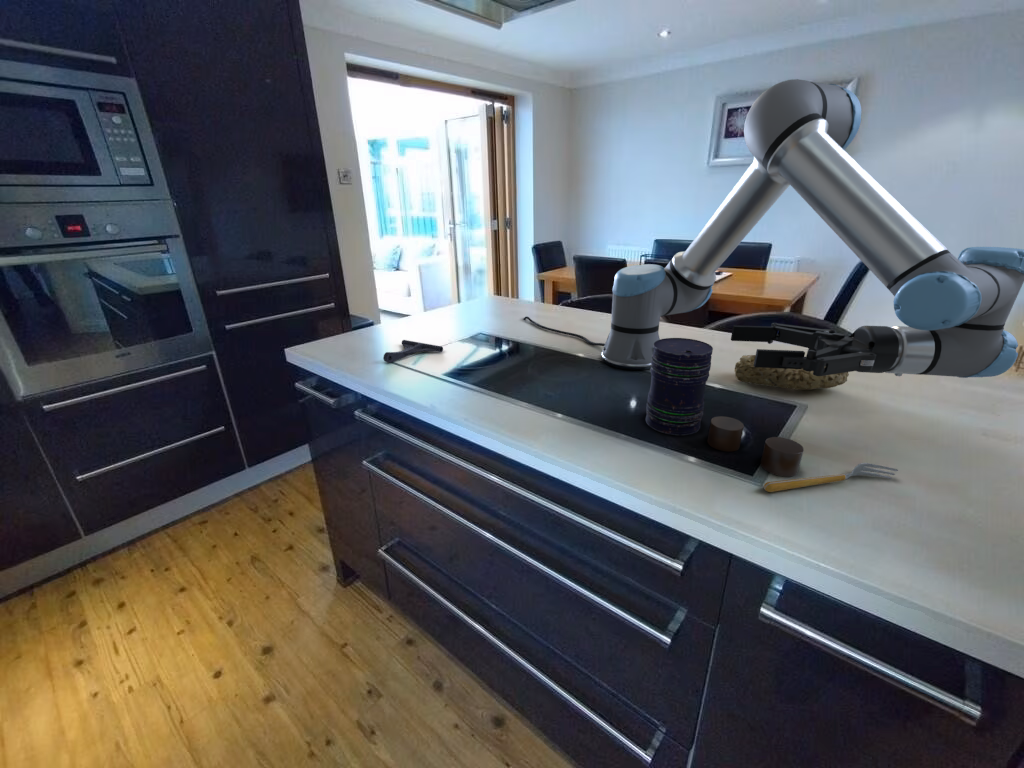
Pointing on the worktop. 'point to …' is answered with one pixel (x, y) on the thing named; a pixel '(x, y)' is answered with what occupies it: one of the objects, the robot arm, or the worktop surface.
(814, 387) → the sponge
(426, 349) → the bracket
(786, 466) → the walnut disc
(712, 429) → the walnut disc
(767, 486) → the fork
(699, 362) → the storage jar
